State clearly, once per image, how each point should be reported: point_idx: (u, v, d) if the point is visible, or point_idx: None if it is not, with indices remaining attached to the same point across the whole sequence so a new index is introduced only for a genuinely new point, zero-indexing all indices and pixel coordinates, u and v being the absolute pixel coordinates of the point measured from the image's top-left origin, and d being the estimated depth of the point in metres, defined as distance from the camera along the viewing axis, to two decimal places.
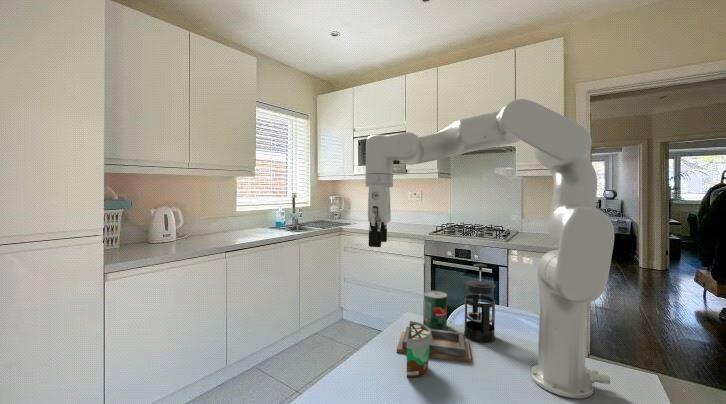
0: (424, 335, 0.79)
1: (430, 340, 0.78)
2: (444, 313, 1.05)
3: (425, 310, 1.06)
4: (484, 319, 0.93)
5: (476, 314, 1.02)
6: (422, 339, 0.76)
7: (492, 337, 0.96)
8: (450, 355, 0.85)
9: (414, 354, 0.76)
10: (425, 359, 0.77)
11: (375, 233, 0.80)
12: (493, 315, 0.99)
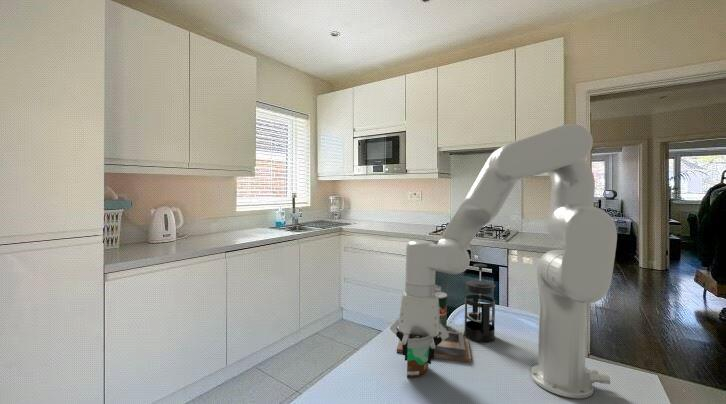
0: None
1: (431, 340, 0.78)
2: (444, 313, 1.05)
3: None
4: (484, 319, 0.93)
5: (476, 314, 1.02)
6: (423, 339, 0.76)
7: (492, 337, 0.96)
8: (450, 355, 0.85)
9: (415, 354, 0.76)
10: (425, 359, 0.77)
11: None
12: (493, 315, 0.99)
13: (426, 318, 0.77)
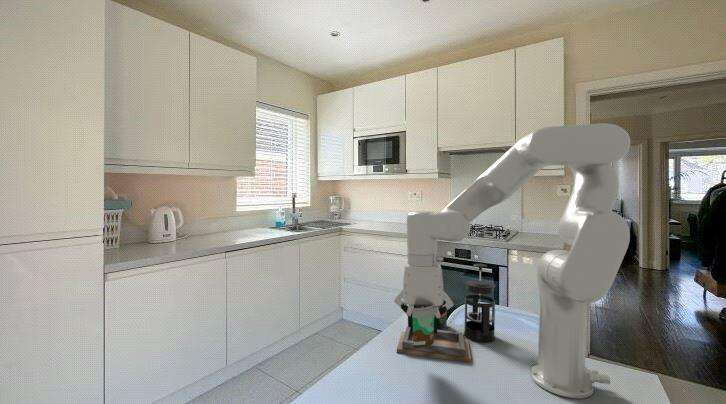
0: None
1: (435, 310, 0.77)
2: (444, 313, 1.05)
3: None
4: (484, 319, 0.93)
5: (476, 314, 1.02)
6: (427, 308, 0.76)
7: (492, 337, 0.96)
8: (450, 355, 0.85)
9: (420, 323, 0.75)
10: (431, 329, 0.77)
11: None
12: (493, 315, 0.99)
13: (430, 287, 0.77)
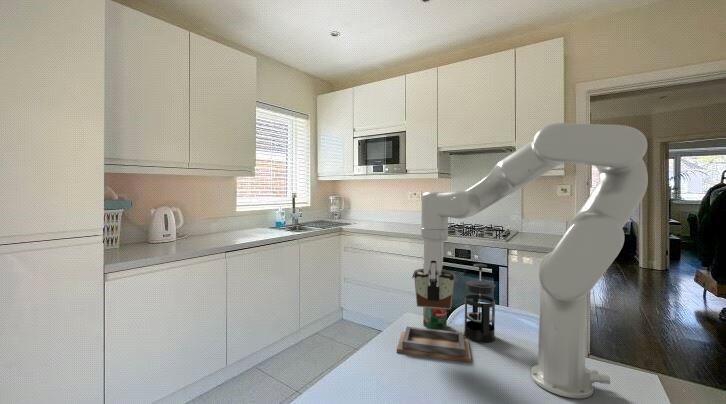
0: None
1: None
2: (444, 313, 1.05)
3: (425, 310, 1.06)
4: (484, 319, 0.93)
5: (476, 314, 1.02)
6: None
7: (492, 337, 0.96)
8: (450, 355, 0.85)
9: None
10: None
11: None
12: (493, 315, 0.99)
13: None
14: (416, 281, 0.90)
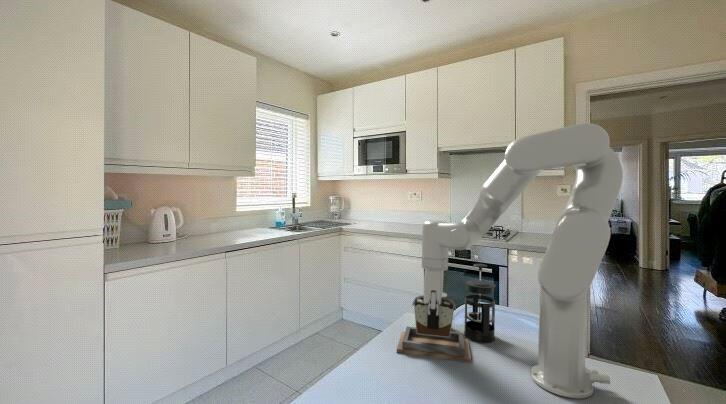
0: None
1: None
2: None
3: None
4: (484, 319, 0.93)
5: (476, 314, 1.02)
6: None
7: (492, 337, 0.96)
8: (450, 355, 0.85)
9: None
10: None
11: None
12: (493, 315, 0.99)
13: None
14: (416, 309, 0.91)
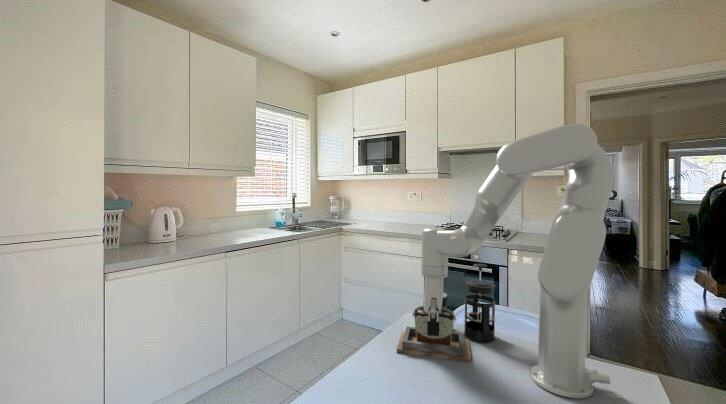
0: None
1: None
2: None
3: None
4: (484, 319, 0.93)
5: (476, 314, 1.02)
6: None
7: (492, 337, 0.96)
8: (450, 355, 0.85)
9: None
10: None
11: None
12: (493, 315, 0.99)
13: None
14: (416, 320, 0.91)
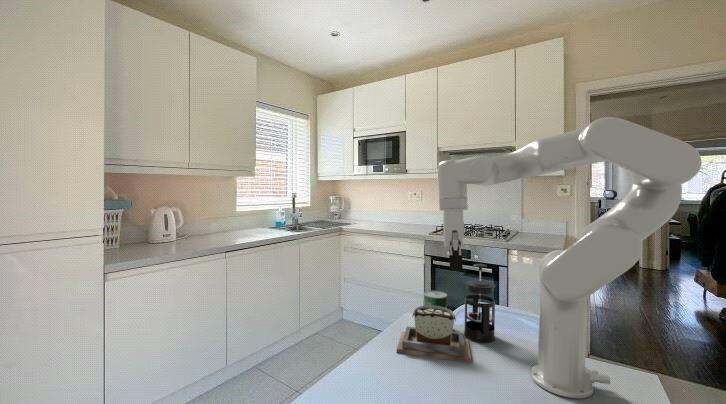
0: (436, 310, 0.94)
1: None
2: None
3: None
4: (484, 319, 0.93)
5: (476, 314, 1.02)
6: None
7: (492, 337, 0.96)
8: (450, 355, 0.85)
9: None
10: None
11: None
12: (493, 315, 0.99)
13: None
14: (416, 320, 0.91)
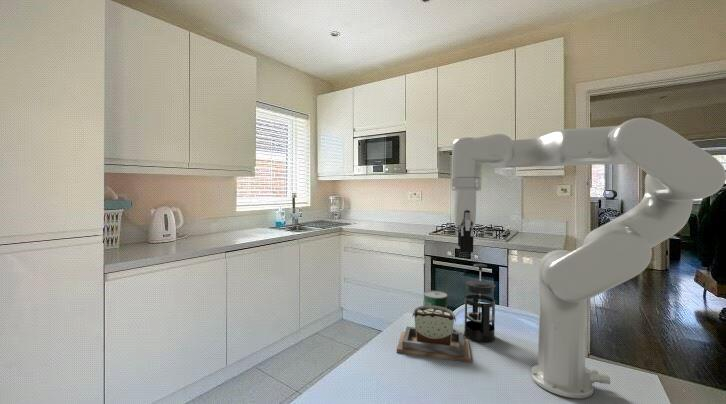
0: (436, 310, 0.94)
1: None
2: None
3: None
4: (484, 319, 0.93)
5: (476, 314, 1.02)
6: None
7: (492, 337, 0.96)
8: (450, 355, 0.85)
9: None
10: None
11: None
12: (493, 315, 0.99)
13: None
14: (416, 320, 0.91)
